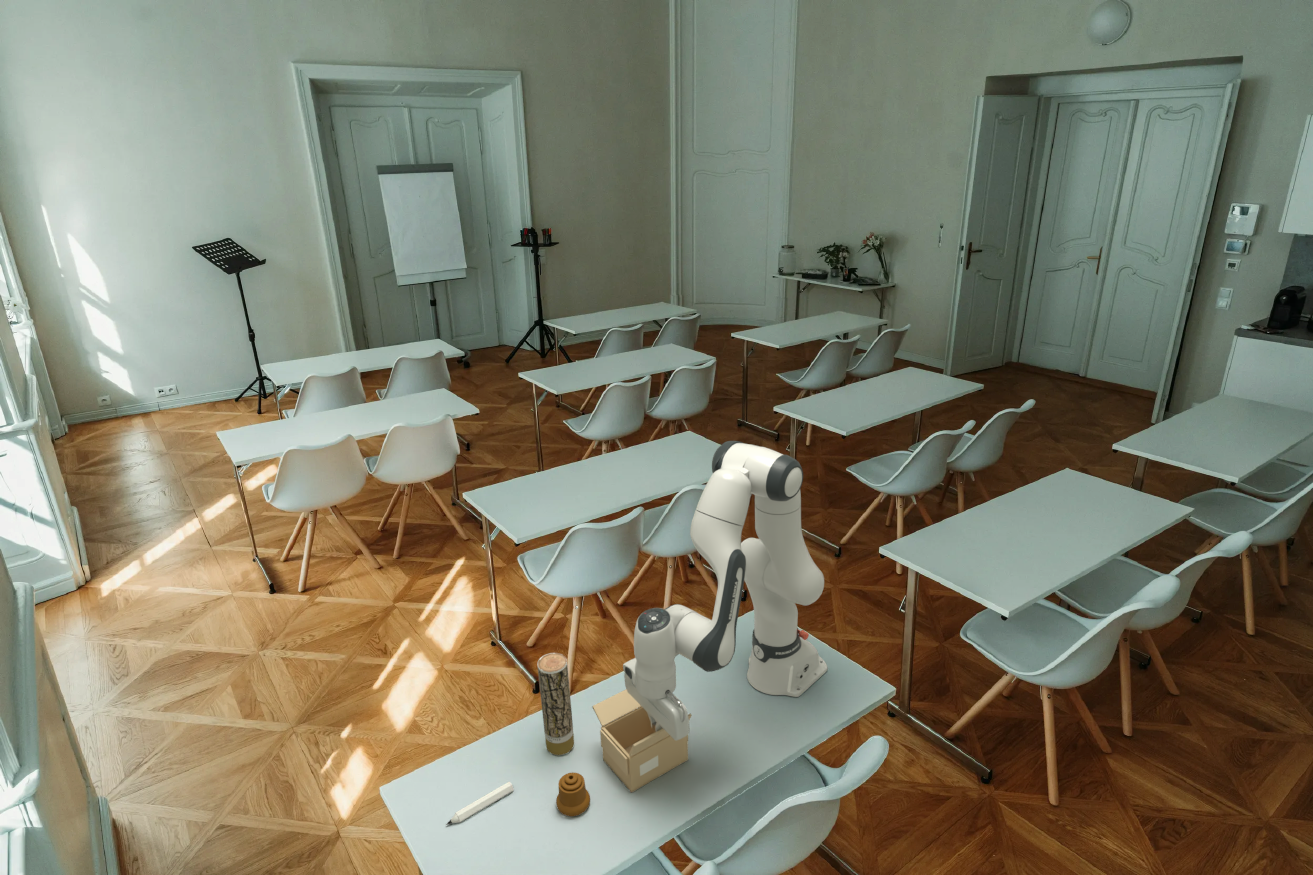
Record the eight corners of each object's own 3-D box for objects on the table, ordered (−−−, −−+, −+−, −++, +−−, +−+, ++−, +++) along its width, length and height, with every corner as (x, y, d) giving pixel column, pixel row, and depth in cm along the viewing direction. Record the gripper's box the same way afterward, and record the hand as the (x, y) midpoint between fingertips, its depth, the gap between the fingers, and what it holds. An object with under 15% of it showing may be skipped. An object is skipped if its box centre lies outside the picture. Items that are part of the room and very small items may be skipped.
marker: (446, 830, 167) (511, 790, 176) (449, 832, 165) (514, 792, 174) (441, 818, 167) (507, 779, 176) (445, 820, 165) (510, 781, 174)
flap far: (656, 698, 187) (646, 679, 189) (657, 697, 186) (647, 678, 188) (601, 726, 179) (592, 706, 181) (602, 725, 178) (592, 705, 180)
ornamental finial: (569, 824, 166) (549, 803, 171) (597, 805, 171) (577, 785, 176) (567, 797, 163) (546, 776, 168) (595, 777, 168) (574, 758, 173)
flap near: (630, 757, 170) (634, 746, 166) (628, 755, 170) (633, 744, 167) (686, 725, 178) (691, 715, 175) (685, 724, 178) (690, 713, 175)
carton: (660, 729, 191) (659, 696, 187) (690, 758, 182) (689, 725, 178) (601, 761, 182) (598, 728, 178) (629, 794, 173) (627, 760, 169)
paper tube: (569, 758, 183) (561, 673, 174) (542, 754, 184) (533, 670, 175) (578, 737, 189) (570, 654, 180) (551, 734, 191) (543, 651, 181)
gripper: (696, 700, 161) (696, 751, 166) (642, 650, 177) (643, 698, 182) (671, 712, 158) (673, 764, 163) (618, 660, 173) (621, 709, 179)
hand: (657, 729), depth 172 cm, fingers closed
